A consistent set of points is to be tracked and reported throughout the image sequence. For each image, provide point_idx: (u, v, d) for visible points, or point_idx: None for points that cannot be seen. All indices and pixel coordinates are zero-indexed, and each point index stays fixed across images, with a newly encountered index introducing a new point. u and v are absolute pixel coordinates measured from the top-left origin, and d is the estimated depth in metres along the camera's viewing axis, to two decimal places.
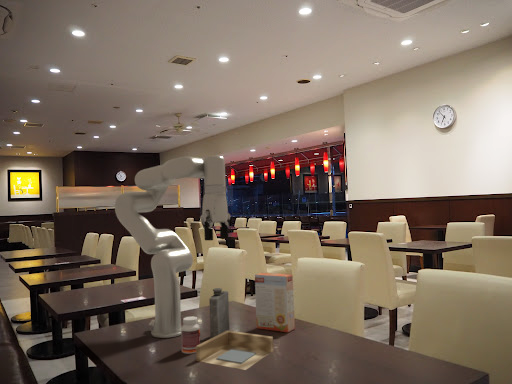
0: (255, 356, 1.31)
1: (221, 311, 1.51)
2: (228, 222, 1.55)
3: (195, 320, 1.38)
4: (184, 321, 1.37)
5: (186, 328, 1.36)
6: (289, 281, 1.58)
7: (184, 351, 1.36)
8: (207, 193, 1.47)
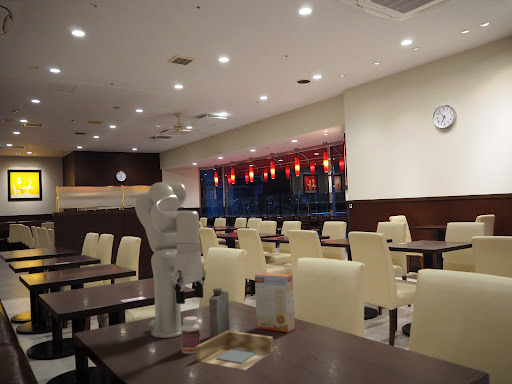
0: (255, 356, 1.31)
1: (221, 311, 1.51)
2: (203, 280, 1.44)
3: (195, 320, 1.38)
4: (184, 321, 1.37)
5: (186, 328, 1.36)
6: (289, 281, 1.58)
7: (184, 351, 1.36)
8: (179, 252, 1.37)
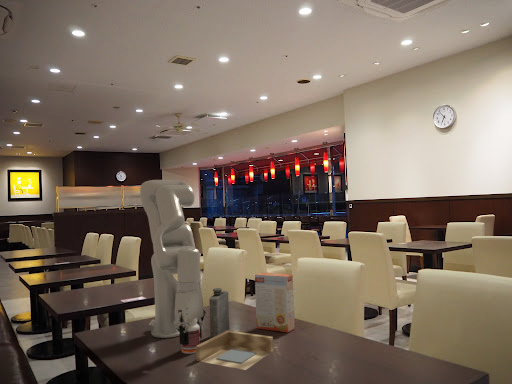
0: (255, 356, 1.31)
1: (221, 311, 1.51)
2: (201, 320, 1.43)
3: (195, 320, 1.38)
4: None
5: None
6: (289, 281, 1.58)
7: (184, 351, 1.36)
8: (180, 291, 1.36)
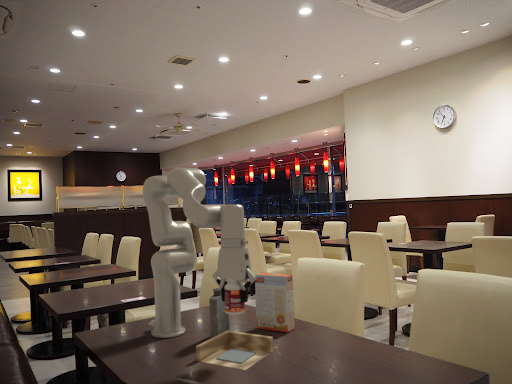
0: (255, 356, 1.31)
1: (221, 311, 1.51)
2: (247, 284, 1.29)
3: (229, 279, 1.30)
4: None
5: None
6: (289, 281, 1.58)
7: None
8: None
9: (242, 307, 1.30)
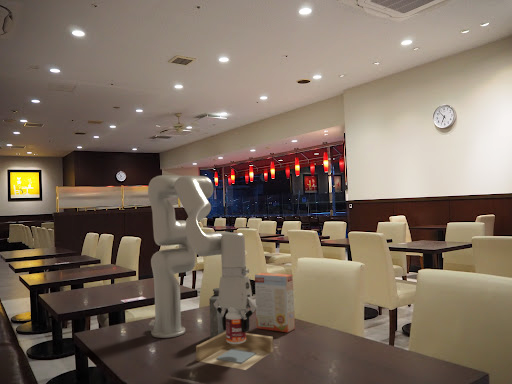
0: (255, 356, 1.31)
1: None
2: (248, 314, 1.28)
3: (230, 308, 1.30)
4: None
5: None
6: (289, 281, 1.58)
7: None
8: None
9: (243, 336, 1.29)
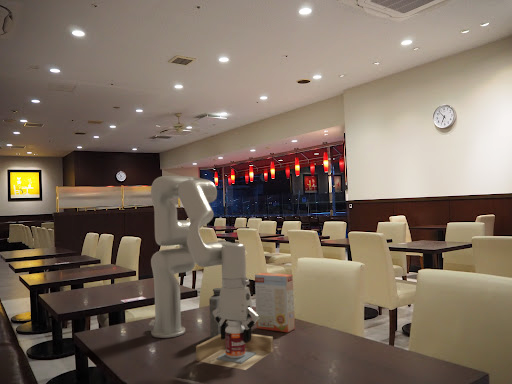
0: (255, 356, 1.31)
1: None
2: (250, 324, 1.28)
3: (230, 322, 1.30)
4: None
5: None
6: (289, 281, 1.58)
7: None
8: None
9: (243, 350, 1.30)
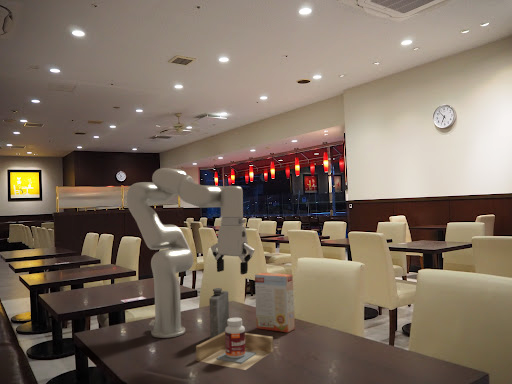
0: (255, 356, 1.31)
1: (221, 311, 1.51)
2: (247, 258, 1.39)
3: (230, 322, 1.30)
4: None
5: None
6: (289, 281, 1.58)
7: None
8: None
9: (243, 350, 1.29)
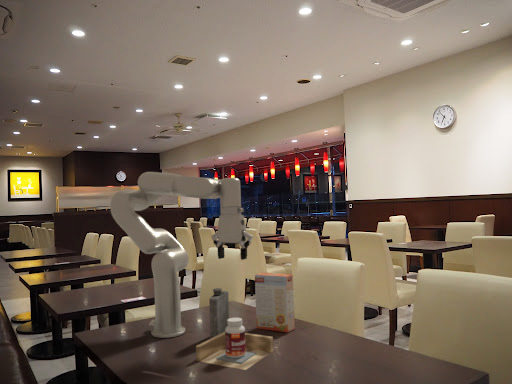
0: (255, 356, 1.31)
1: (221, 311, 1.51)
2: (246, 244, 1.50)
3: (230, 322, 1.30)
4: None
5: None
6: (289, 281, 1.58)
7: None
8: None
9: (243, 350, 1.29)
